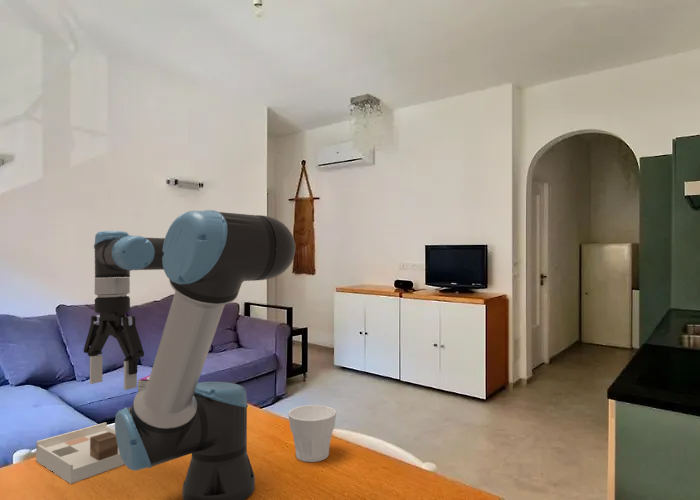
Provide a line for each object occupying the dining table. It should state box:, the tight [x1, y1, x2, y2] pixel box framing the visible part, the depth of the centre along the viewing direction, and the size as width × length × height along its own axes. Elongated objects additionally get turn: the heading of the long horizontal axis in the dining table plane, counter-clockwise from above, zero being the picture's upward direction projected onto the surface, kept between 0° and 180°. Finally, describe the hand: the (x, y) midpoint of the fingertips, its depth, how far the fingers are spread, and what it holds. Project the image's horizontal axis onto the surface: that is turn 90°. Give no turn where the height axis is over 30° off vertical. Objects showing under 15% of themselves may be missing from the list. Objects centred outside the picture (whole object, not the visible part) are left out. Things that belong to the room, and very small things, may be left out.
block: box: [90, 432, 118, 460], centre depth 112 cm, size 4×4×4 cm
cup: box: [287, 404, 337, 463], centre depth 118 cm, size 12×12×11 cm
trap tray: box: [35, 422, 126, 485], centre depth 116 cm, size 20×17×5 cm
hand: (112, 385), depth 108 cm, fingers open, 13 cm apart
